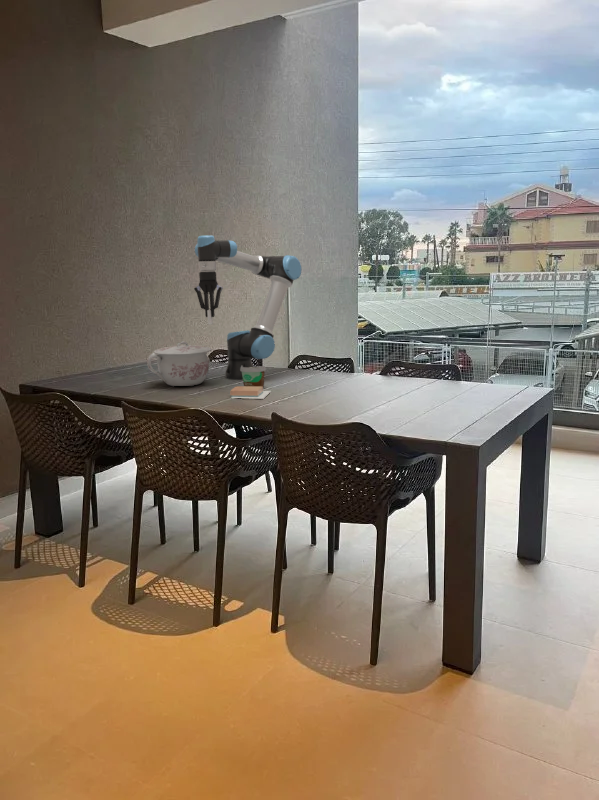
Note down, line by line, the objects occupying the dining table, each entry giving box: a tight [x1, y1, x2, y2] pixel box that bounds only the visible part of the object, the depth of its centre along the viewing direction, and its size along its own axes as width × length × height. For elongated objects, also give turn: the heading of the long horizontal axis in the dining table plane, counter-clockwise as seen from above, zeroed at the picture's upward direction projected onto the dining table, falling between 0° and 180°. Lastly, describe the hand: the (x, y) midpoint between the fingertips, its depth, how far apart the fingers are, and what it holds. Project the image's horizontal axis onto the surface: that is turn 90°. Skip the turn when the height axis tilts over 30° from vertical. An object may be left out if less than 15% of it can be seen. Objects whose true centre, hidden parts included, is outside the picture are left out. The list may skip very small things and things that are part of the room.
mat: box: [230, 390, 272, 400], centre depth 277 cm, size 16×14×1 cm
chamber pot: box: [146, 341, 213, 387], centre depth 305 cm, size 28×28×21 cm
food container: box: [240, 365, 267, 387], centre depth 293 cm, size 12×6×10 cm, turn 71°
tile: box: [229, 385, 264, 397], centre depth 277 cm, size 10×2×12 cm
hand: (210, 324), depth 291 cm, fingers closed
